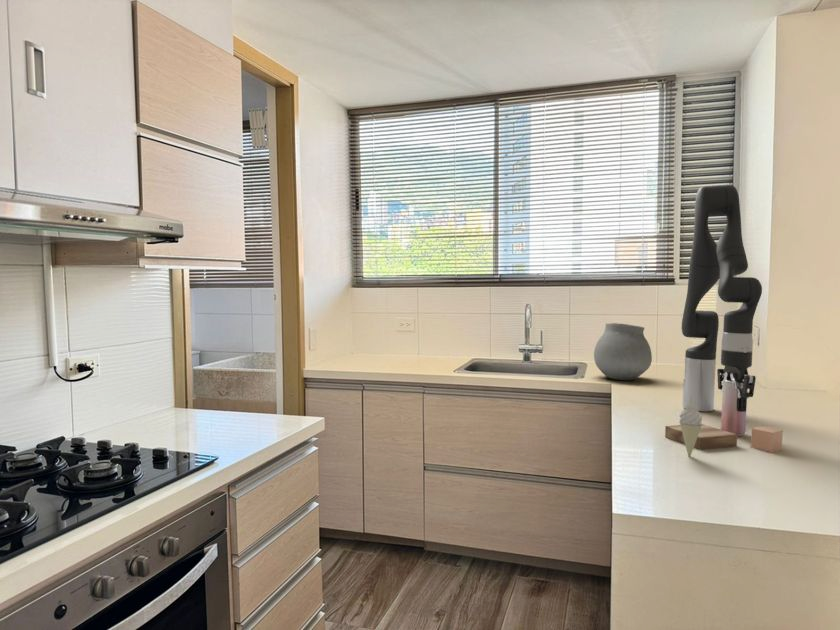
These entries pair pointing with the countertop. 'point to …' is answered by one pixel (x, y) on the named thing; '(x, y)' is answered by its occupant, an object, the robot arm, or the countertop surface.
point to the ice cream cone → (690, 424)
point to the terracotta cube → (766, 439)
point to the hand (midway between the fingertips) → (734, 408)
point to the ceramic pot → (622, 352)
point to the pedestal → (704, 437)
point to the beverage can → (732, 410)
